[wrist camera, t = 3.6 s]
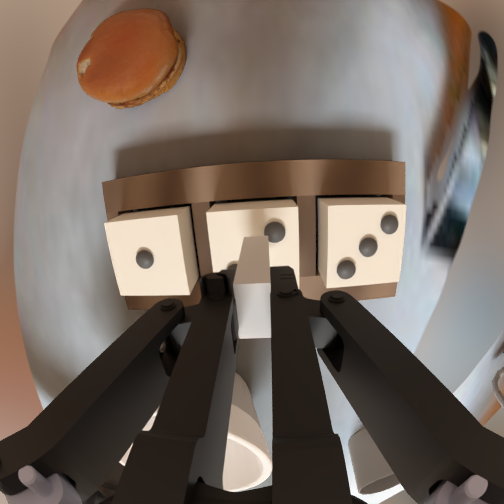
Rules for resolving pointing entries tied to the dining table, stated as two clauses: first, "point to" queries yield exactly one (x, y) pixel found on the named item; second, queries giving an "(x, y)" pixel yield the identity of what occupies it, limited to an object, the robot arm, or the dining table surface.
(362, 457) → the cup
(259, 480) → the bowl
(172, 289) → the tile one
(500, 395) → the mug
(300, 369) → the robot arm
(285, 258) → the tile two
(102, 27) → the burger
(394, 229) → the tile three
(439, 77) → the dining table surface
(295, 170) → the board
